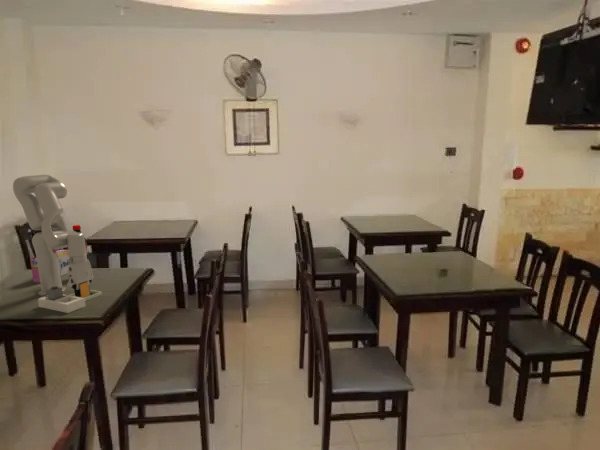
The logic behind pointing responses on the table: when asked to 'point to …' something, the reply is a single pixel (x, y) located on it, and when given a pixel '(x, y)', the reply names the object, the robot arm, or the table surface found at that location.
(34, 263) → the gum box
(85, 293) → the orange plug
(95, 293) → the tray
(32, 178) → the robot arm
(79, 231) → the cola bottle
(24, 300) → the table surface
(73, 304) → the white compartment box
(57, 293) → the twin plug
